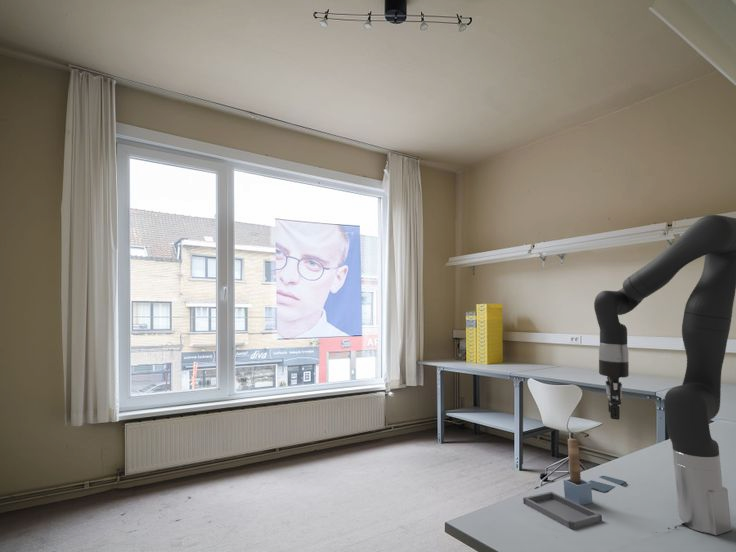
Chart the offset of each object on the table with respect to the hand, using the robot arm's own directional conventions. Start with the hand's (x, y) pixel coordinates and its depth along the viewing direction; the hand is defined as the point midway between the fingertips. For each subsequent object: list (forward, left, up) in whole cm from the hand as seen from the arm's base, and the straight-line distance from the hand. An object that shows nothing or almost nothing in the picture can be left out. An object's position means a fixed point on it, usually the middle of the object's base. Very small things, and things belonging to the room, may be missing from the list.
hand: (613, 415), depth 124 cm
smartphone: (+6, -2, -23) cm, 24 cm away
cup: (+1, +15, -22) cm, 27 cm away
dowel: (+1, +15, -21) cm, 26 cm away
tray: (-2, +25, -22) cm, 33 cm away
